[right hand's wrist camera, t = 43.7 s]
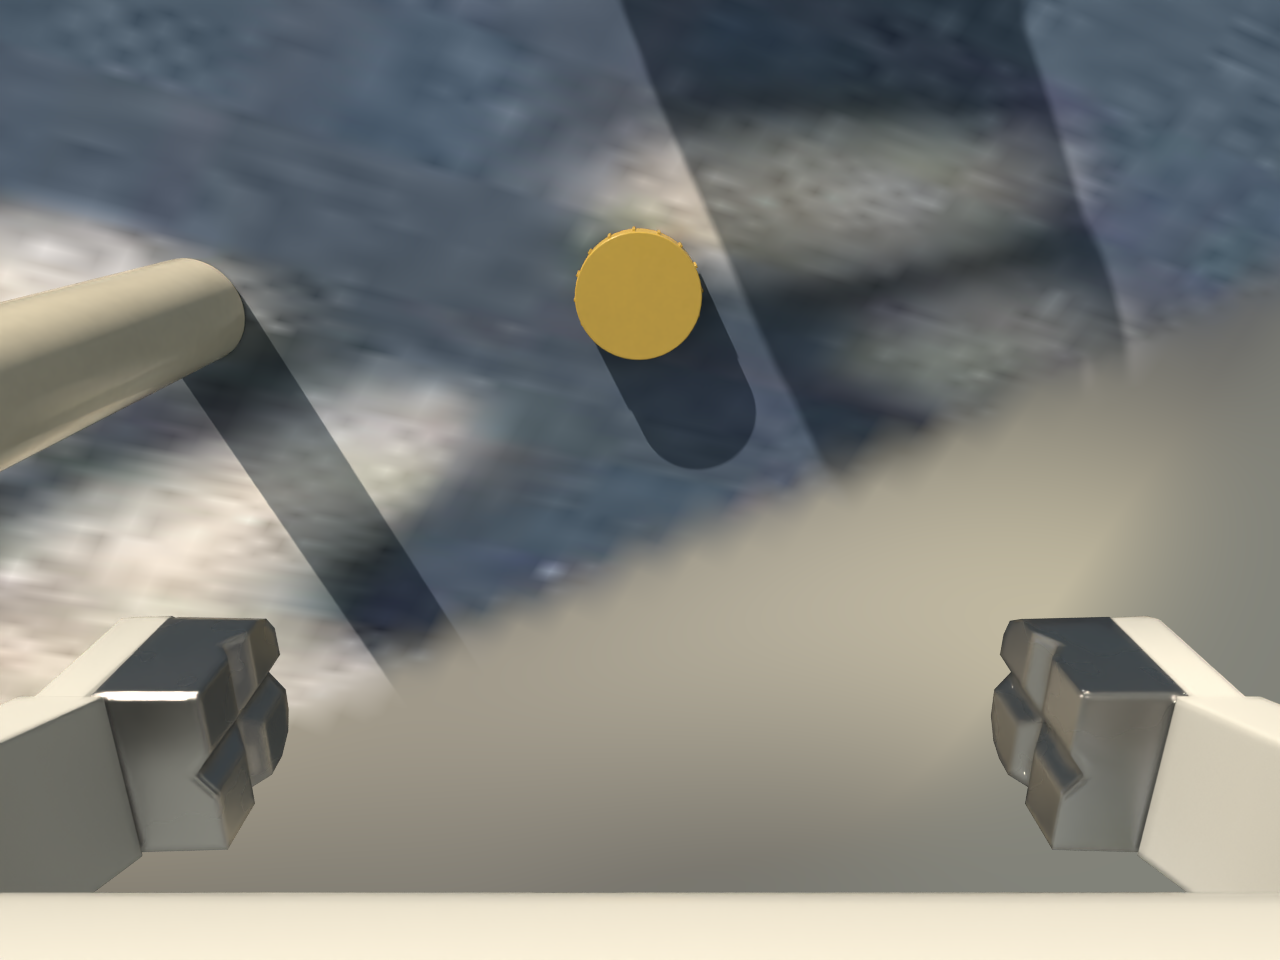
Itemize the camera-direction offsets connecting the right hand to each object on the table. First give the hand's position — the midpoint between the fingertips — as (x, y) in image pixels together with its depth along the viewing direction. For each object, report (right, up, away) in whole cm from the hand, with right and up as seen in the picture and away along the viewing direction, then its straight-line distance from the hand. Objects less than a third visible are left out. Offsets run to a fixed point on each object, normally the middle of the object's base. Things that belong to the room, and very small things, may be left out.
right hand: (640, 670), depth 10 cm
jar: (-19, +9, +27) cm, 34 cm away
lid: (0, +9, +26) cm, 28 cm away
